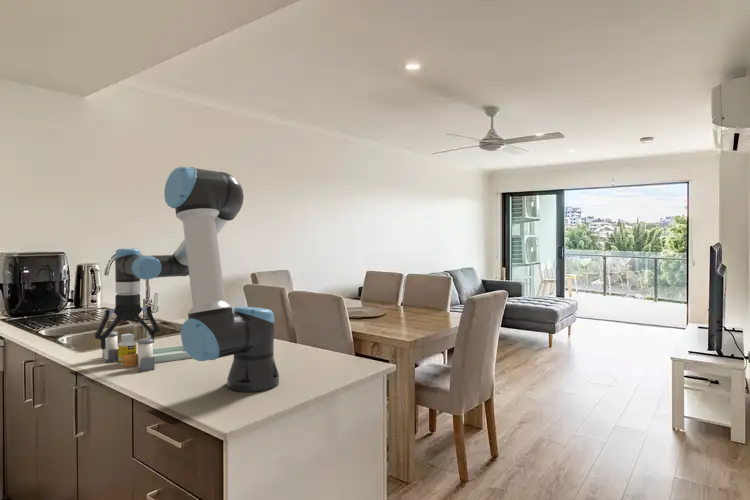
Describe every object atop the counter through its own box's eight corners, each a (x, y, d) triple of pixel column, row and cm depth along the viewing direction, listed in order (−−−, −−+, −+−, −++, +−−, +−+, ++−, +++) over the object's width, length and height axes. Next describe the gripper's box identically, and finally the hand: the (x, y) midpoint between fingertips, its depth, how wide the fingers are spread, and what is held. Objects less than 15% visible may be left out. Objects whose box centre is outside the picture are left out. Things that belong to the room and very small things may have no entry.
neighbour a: (154, 368, 151) (154, 340, 151) (139, 370, 148) (139, 341, 148) (151, 365, 155) (151, 337, 155) (136, 367, 152) (136, 339, 152)
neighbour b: (118, 359, 161) (118, 333, 160) (103, 361, 158) (103, 334, 158) (116, 356, 164) (116, 330, 164) (102, 358, 162) (102, 332, 161)
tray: (197, 357, 166) (197, 350, 166) (149, 363, 156) (149, 356, 156) (188, 350, 175) (188, 344, 175) (142, 356, 166) (142, 349, 166)
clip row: (154, 369, 150) (154, 357, 150) (112, 375, 142) (112, 362, 142) (139, 352, 170) (139, 342, 170) (102, 357, 163) (102, 346, 163)
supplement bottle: (128, 366, 153) (128, 337, 153) (114, 364, 154) (114, 336, 154) (139, 361, 158) (139, 333, 158) (126, 360, 160) (126, 332, 159)
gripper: (163, 290, 166) (163, 348, 167) (84, 294, 151) (85, 358, 152) (168, 292, 160) (168, 352, 161) (86, 297, 145) (87, 363, 146)
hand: (128, 355), depth 157 cm, fingers open, 12 cm apart
